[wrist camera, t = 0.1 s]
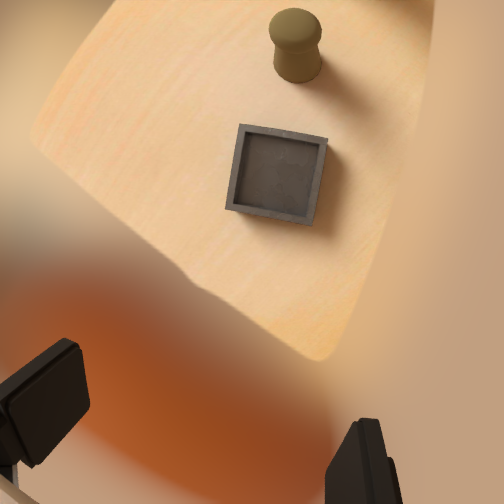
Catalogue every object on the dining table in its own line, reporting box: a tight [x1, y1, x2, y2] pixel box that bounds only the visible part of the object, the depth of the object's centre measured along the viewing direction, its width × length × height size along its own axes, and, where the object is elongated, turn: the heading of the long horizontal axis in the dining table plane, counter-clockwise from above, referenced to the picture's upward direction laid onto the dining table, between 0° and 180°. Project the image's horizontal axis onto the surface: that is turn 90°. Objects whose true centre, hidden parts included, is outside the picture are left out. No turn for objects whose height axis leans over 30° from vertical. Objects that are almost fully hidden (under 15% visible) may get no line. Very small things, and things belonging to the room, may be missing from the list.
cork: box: [269, 8, 322, 83], centre depth 28 cm, size 6×6×11 cm
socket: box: [225, 124, 328, 226], centre depth 35 cm, size 10×10×4 cm
